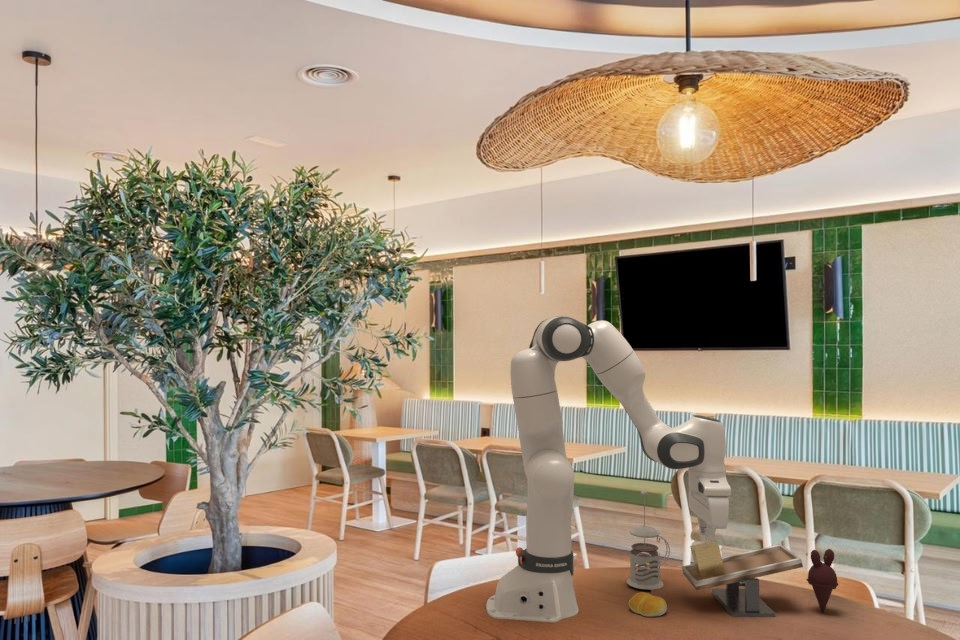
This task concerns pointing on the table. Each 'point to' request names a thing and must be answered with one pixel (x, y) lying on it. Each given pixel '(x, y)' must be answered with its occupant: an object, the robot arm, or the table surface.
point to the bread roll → (647, 604)
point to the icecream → (822, 577)
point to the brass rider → (707, 559)
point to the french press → (645, 558)
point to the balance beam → (746, 566)
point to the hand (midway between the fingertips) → (706, 537)
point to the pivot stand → (743, 600)
